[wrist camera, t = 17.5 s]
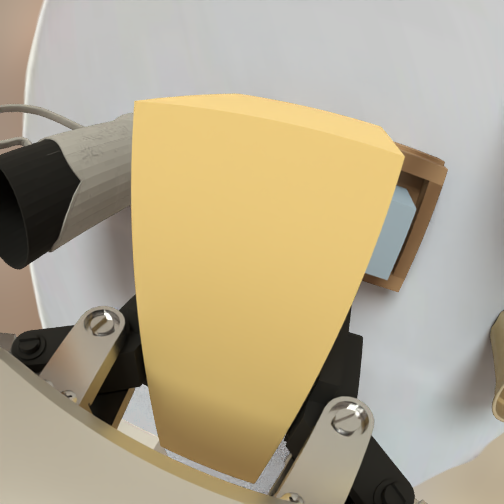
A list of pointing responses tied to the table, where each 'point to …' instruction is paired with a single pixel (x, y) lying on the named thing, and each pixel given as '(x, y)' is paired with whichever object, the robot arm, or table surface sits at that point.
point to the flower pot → (498, 366)
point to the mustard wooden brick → (247, 261)
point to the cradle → (424, 198)
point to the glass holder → (61, 184)
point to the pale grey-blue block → (392, 234)
